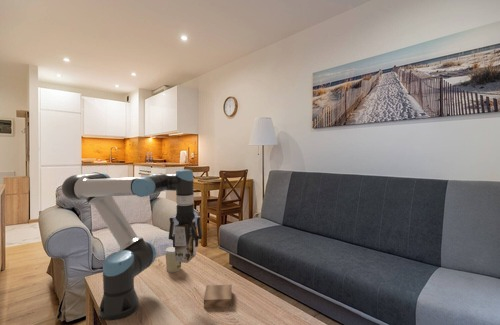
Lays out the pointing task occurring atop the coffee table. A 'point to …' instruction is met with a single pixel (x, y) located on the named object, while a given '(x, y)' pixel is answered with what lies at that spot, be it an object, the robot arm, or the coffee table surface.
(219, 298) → the walnut block
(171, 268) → the coffee cup
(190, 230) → the coffee box
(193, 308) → the coffee table surface
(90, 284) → the coffee table surface
